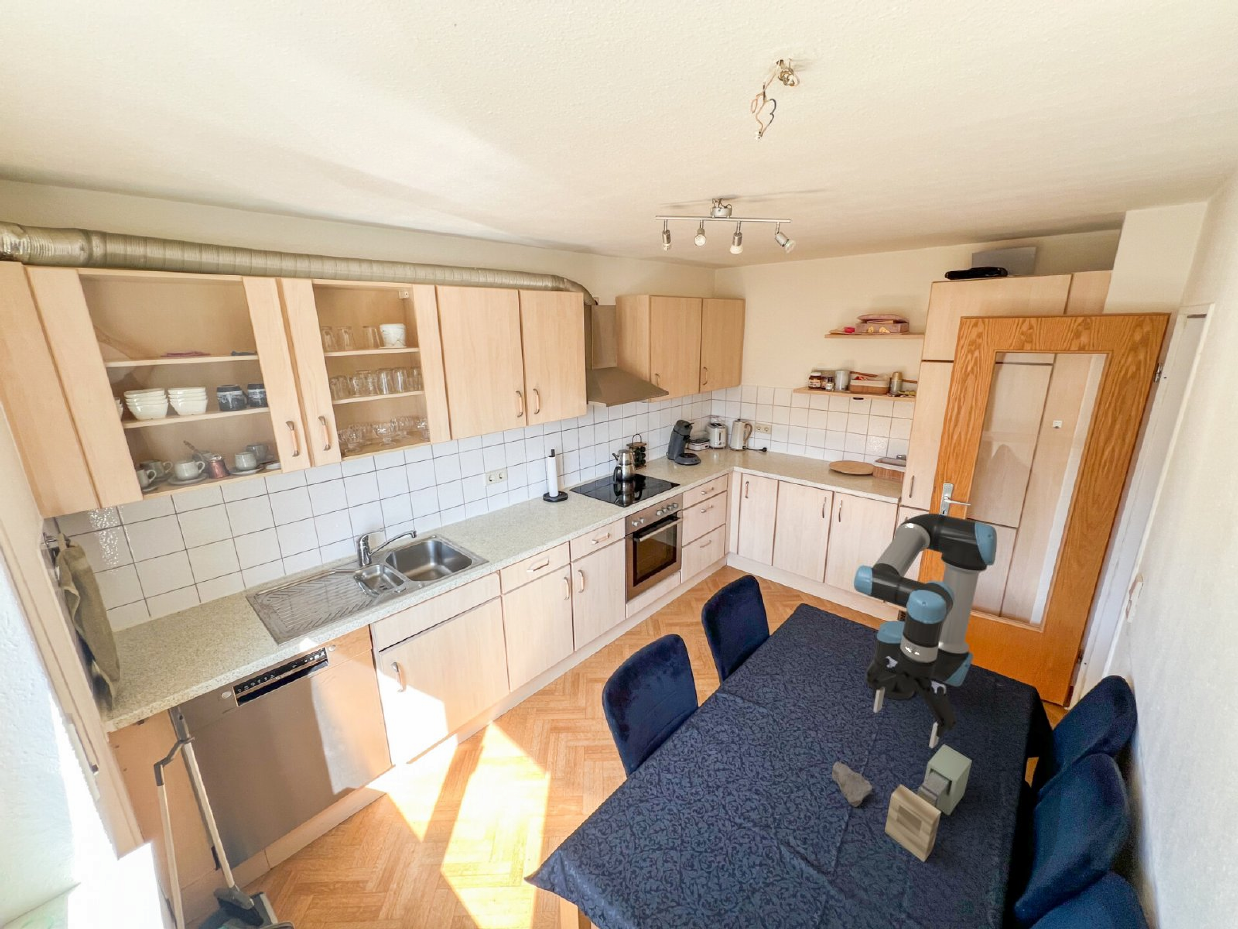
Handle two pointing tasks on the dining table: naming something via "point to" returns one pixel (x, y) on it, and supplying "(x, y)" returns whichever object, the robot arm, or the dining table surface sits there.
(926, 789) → the grey-banded white peg
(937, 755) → the sleeve
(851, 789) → the stone
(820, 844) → the dining table surface
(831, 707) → the dining table surface
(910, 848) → the socket block
